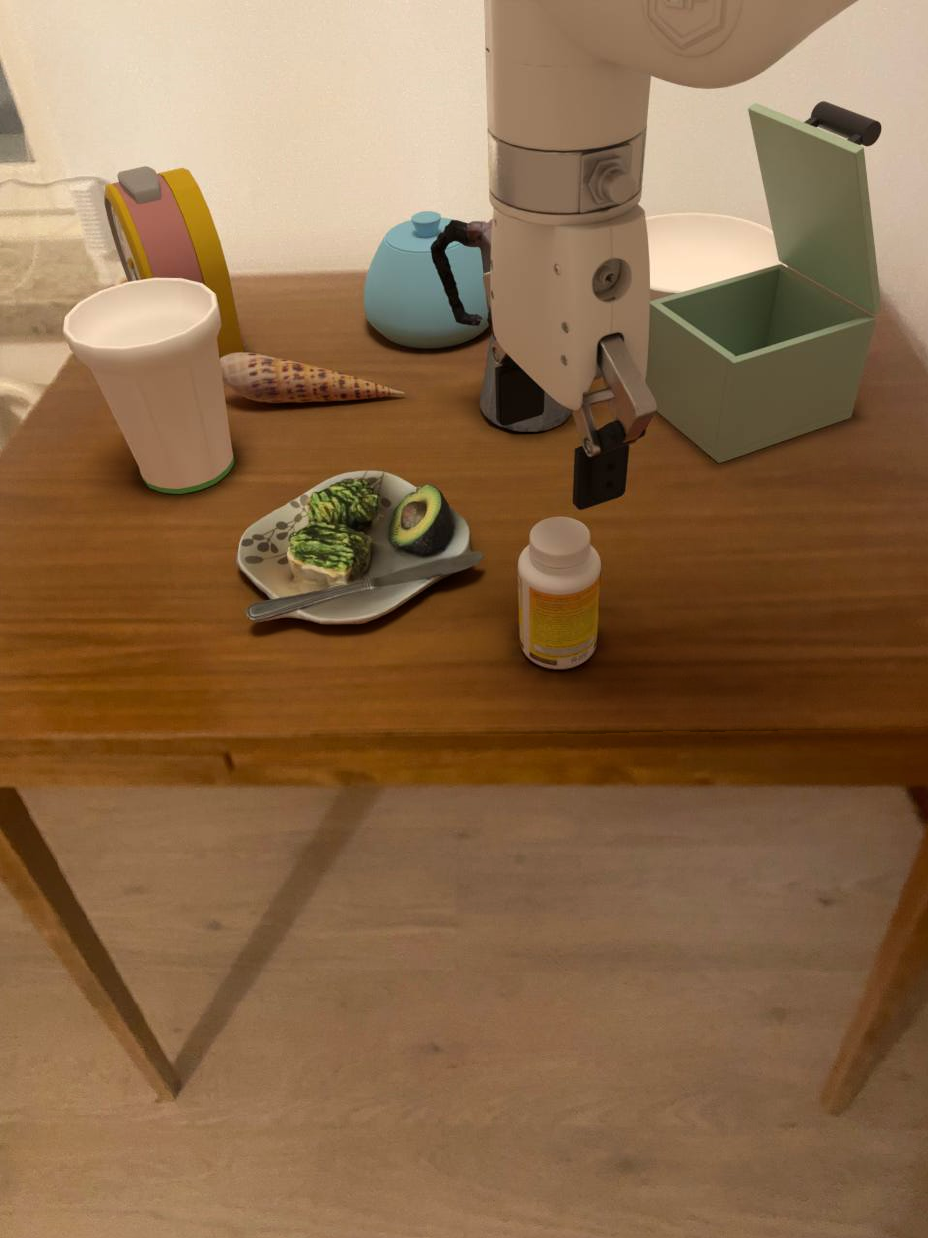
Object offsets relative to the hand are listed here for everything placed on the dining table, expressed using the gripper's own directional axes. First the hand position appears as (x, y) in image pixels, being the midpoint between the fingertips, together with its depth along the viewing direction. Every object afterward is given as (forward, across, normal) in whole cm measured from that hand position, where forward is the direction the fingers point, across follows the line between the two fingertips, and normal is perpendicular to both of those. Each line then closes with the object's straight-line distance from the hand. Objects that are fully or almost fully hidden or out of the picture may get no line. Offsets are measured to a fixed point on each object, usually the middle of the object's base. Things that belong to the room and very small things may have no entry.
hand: (557, 457), depth 59 cm
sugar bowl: (+17, +50, -12) cm, 54 cm away
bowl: (+16, +36, -36) cm, 54 cm away
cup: (+17, +35, +18) cm, 43 cm away
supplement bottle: (+16, -1, 0) cm, 16 cm away
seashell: (+17, +40, +4) cm, 44 cm away
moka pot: (+16, +28, -12) cm, 35 cm away
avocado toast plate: (+16, +16, +9) cm, 24 cm away
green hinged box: (+16, +18, -30) cm, 39 cm away
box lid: (-1, +19, -34) cm, 39 cm away
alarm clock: (+17, +58, +13) cm, 62 cm away
